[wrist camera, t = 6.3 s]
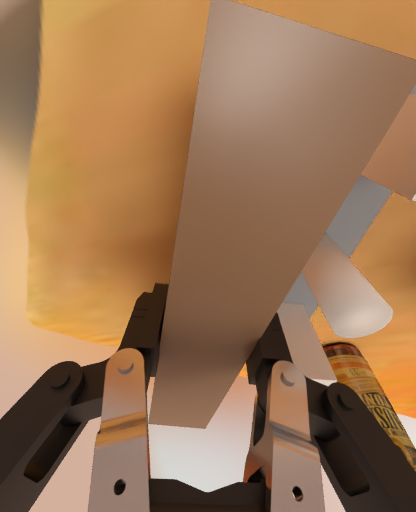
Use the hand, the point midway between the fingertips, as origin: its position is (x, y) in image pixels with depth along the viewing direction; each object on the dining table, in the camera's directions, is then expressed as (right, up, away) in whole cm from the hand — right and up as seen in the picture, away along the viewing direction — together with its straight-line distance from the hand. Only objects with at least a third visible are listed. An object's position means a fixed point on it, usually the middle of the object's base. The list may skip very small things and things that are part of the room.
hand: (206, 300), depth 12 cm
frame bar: (0, +1, +1) cm, 2 cm away
